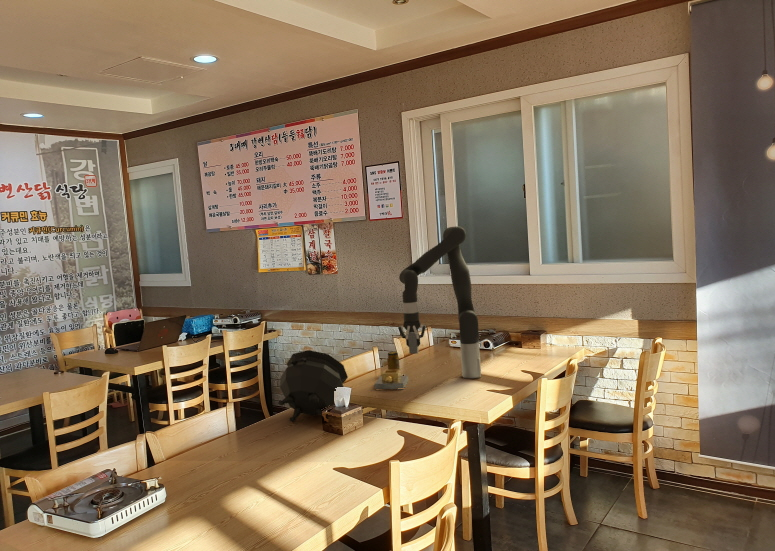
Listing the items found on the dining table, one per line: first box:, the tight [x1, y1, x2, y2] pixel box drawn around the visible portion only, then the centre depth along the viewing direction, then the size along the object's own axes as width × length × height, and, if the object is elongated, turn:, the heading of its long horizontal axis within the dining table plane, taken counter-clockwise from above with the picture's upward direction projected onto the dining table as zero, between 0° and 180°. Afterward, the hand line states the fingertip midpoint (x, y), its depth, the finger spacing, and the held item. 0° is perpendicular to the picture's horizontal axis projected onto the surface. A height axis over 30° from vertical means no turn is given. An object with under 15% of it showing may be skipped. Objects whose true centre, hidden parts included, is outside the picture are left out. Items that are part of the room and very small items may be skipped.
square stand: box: [374, 369, 409, 390], centre depth 286 cm, size 14×14×7 cm
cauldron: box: [277, 349, 349, 423], centre depth 245 cm, size 28×28×24 cm
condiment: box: [387, 351, 406, 375], centre depth 305 cm, size 7×8×12 cm
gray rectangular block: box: [408, 332, 419, 355], centre depth 283 cm, size 4×3×10 cm
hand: (413, 346), depth 283 cm, fingers closed on gray rectangular block, 4 cm apart
